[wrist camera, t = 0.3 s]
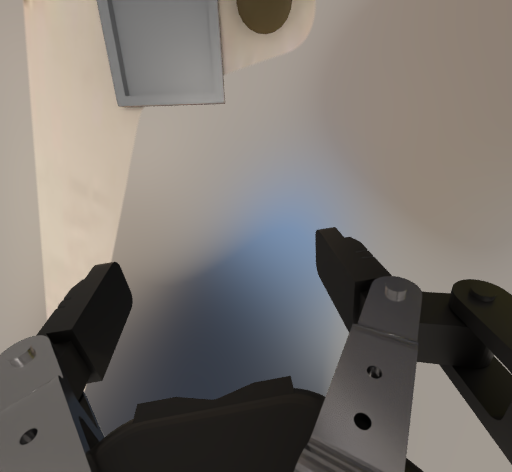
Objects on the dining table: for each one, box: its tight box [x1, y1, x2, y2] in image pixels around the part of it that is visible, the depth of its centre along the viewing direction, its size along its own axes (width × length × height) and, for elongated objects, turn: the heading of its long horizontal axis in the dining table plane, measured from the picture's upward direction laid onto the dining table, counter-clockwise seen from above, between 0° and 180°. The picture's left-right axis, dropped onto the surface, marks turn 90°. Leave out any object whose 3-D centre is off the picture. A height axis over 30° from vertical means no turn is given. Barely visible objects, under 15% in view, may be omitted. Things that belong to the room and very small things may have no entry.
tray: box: [97, 0, 225, 107], centre depth 31 cm, size 12×12×2 cm
